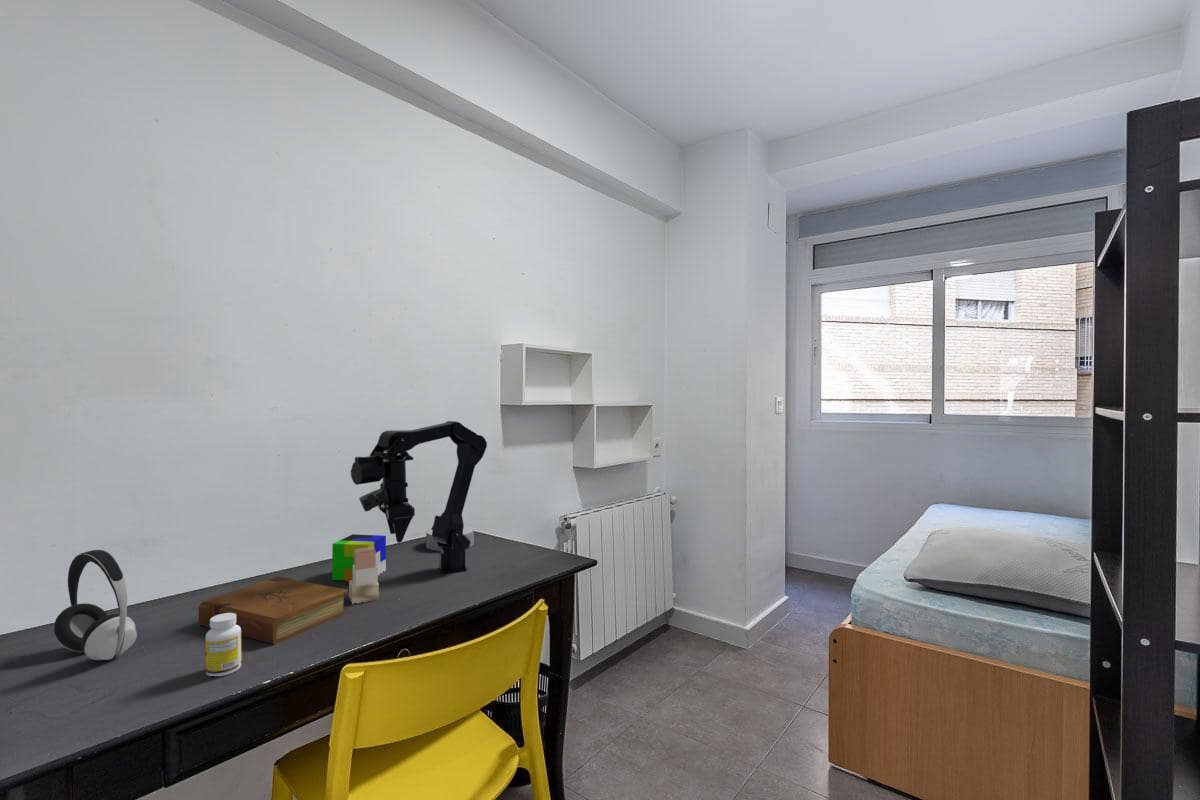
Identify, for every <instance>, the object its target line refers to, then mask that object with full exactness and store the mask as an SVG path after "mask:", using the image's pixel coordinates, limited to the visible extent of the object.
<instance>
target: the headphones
mask: <svg viewBox="0 0 1200 800" xmlns="http://www.w3.org/2000/svg"><path fill="white" fill-rule="evenodd" d="M90 562H91V563H93V564H94V565H96V566H97V567H98V568H100V569H101V571H102V572H103V574H104V575H105V577H106V579H107V580H108V582H109V584H110V586H111V589H112V590H113V593H114V596H115V599H116V603H117V608H118V613H111V614H108V613H107V612H106V611H105V610H104V609H103V608H102V607H99V606H98V605H96V604H92V603H88V602H87V603H86V602H85V603H78V589H79V582H80V578H81V576H82V573H83V571H84V569H85V567H86V566H87V565H88V564H89V563H90ZM120 566H121V565H119V563H118V561H117V559H116V558H115V556H113V554H112V553H110V552H108V551H107V550H103V549H92V550H89V551H85V552H82V553H79V554H77V555H76V556H75V557H74V558H73V559H72V560H71V563H70V565H69V567H68V574H67V589H68V595H69V602H70V606H68V607H66V608H65V609H63V610H62V611H61V612H60V613H59V614H58V615H57V617H56V619H55V620H54V623H53V634H54V636H55V639H56V640H57V642H58V643H59V644H60V645H61V646H62V647H64V648H65V649H66V650H69V651H71V652H72V651H73V652H77V653H83V654H85V655H86V656H87V658H88V659H90V660H94V661H103V660H104V661H105V660H106V661H109V660H112V659H113V658H114V657H115V656H120V655H122V654H123V653H125V652H126V651H127V650H128V649H129V648H131V646H132V645H133V644H134V643H135V641H136V640H137V637H138V632H137V629H136V624H135V622H134V621H133V619H132V618H131V617H129V616H127V611H128V592H127V584H126V580H125V576H124V572H123V570H122V569H121V567H120Z"/></svg>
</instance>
